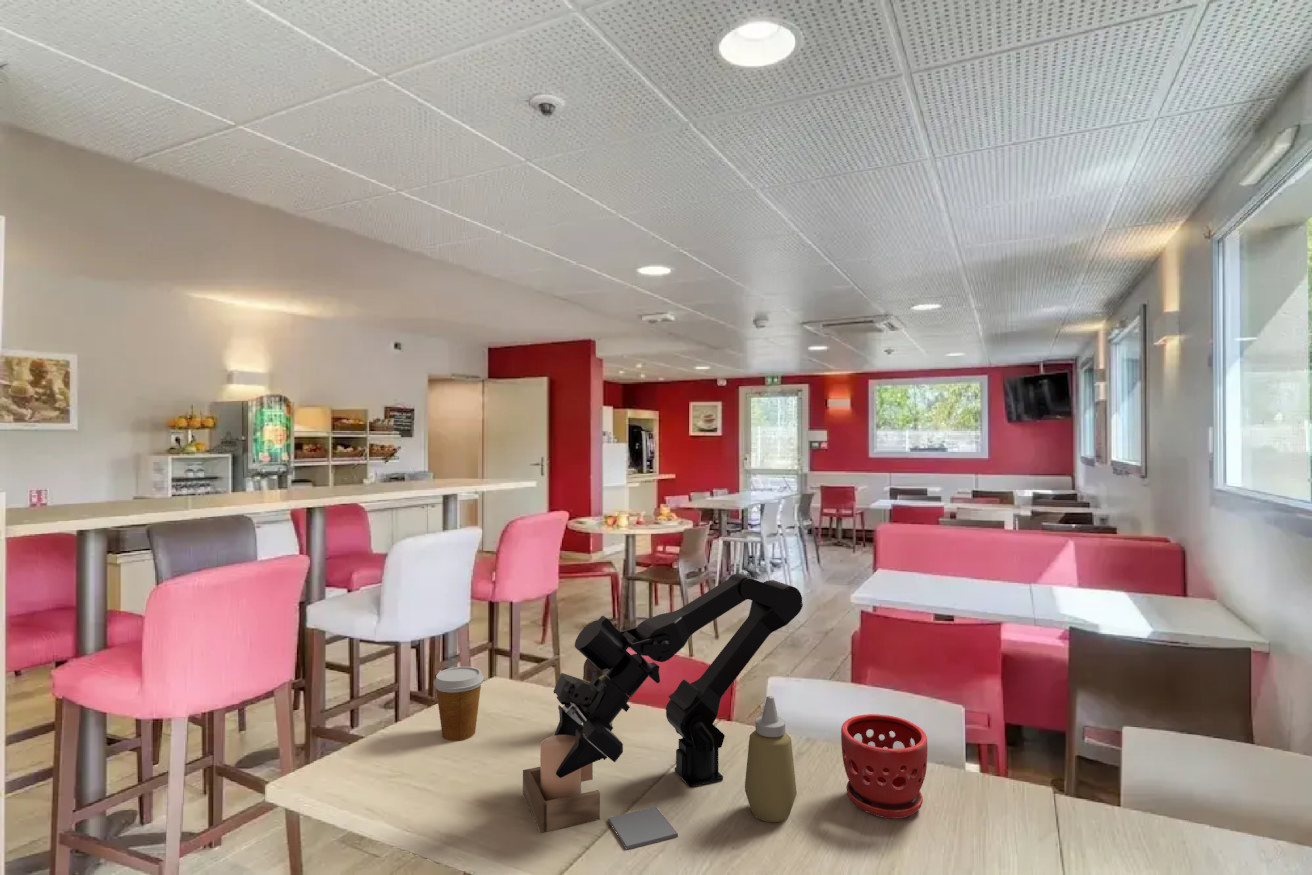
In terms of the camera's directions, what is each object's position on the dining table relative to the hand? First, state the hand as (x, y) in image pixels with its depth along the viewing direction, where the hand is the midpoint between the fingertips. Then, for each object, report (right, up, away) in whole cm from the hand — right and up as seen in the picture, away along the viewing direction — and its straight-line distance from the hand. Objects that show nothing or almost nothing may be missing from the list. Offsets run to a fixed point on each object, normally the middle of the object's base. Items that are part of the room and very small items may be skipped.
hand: (552, 766), depth 108 cm
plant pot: (+53, -7, +1) cm, 53 cm away
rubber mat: (+14, -7, -6) cm, 17 cm away
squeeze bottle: (+34, -7, -2) cm, 35 cm away
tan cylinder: (+1, -7, +1) cm, 7 cm away
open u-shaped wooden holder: (+1, -7, +1) cm, 7 cm away
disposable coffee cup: (-23, -7, +27) cm, 36 cm away
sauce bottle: (+5, -7, +29) cm, 30 cm away
